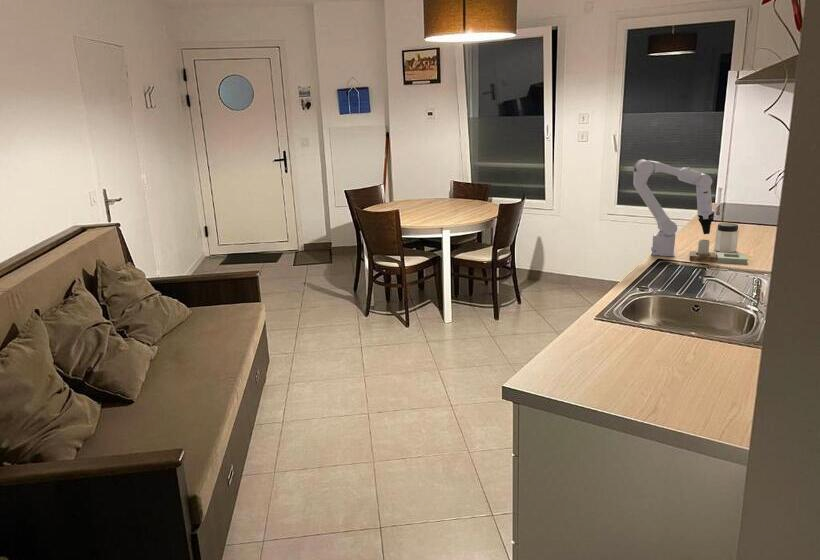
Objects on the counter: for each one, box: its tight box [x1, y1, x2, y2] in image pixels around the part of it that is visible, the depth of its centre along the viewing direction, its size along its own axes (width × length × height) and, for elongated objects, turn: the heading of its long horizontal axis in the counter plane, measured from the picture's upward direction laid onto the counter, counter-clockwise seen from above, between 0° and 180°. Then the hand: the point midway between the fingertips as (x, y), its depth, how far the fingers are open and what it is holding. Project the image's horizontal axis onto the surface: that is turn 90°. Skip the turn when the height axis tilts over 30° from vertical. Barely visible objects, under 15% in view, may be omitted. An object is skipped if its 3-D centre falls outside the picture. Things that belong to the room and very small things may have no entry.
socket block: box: [689, 250, 717, 263], centre depth 263 cm, size 10×10×2 cm
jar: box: [713, 222, 739, 253], centre depth 275 cm, size 9×8×12 cm
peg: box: [697, 238, 710, 256], centre depth 262 cm, size 4×4×8 cm
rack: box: [715, 251, 748, 265], centre depth 259 cm, size 11×11×2 cm
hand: (706, 232), depth 267 cm, fingers open, 7 cm apart
